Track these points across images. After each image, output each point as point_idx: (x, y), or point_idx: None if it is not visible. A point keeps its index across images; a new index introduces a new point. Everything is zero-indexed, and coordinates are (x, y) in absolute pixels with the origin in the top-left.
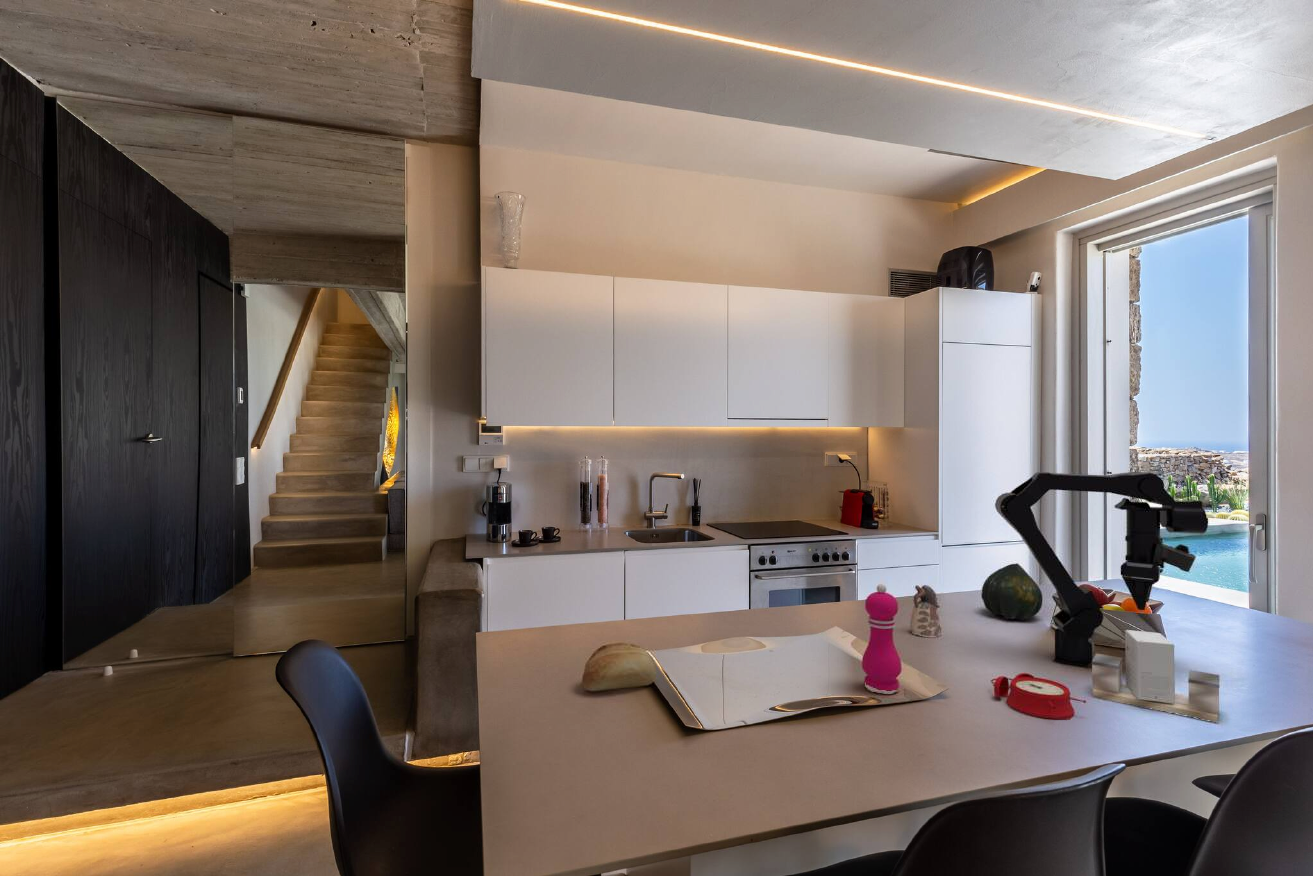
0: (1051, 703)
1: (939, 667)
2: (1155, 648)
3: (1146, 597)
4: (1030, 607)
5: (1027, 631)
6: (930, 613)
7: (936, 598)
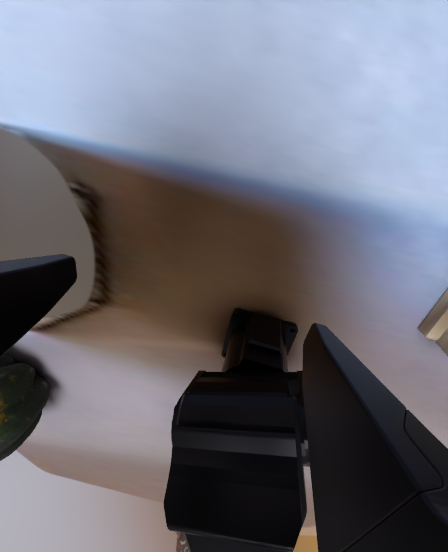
0: None
1: None
2: None
3: (393, 398)
4: (13, 382)
5: (95, 368)
6: None
7: (181, 543)
